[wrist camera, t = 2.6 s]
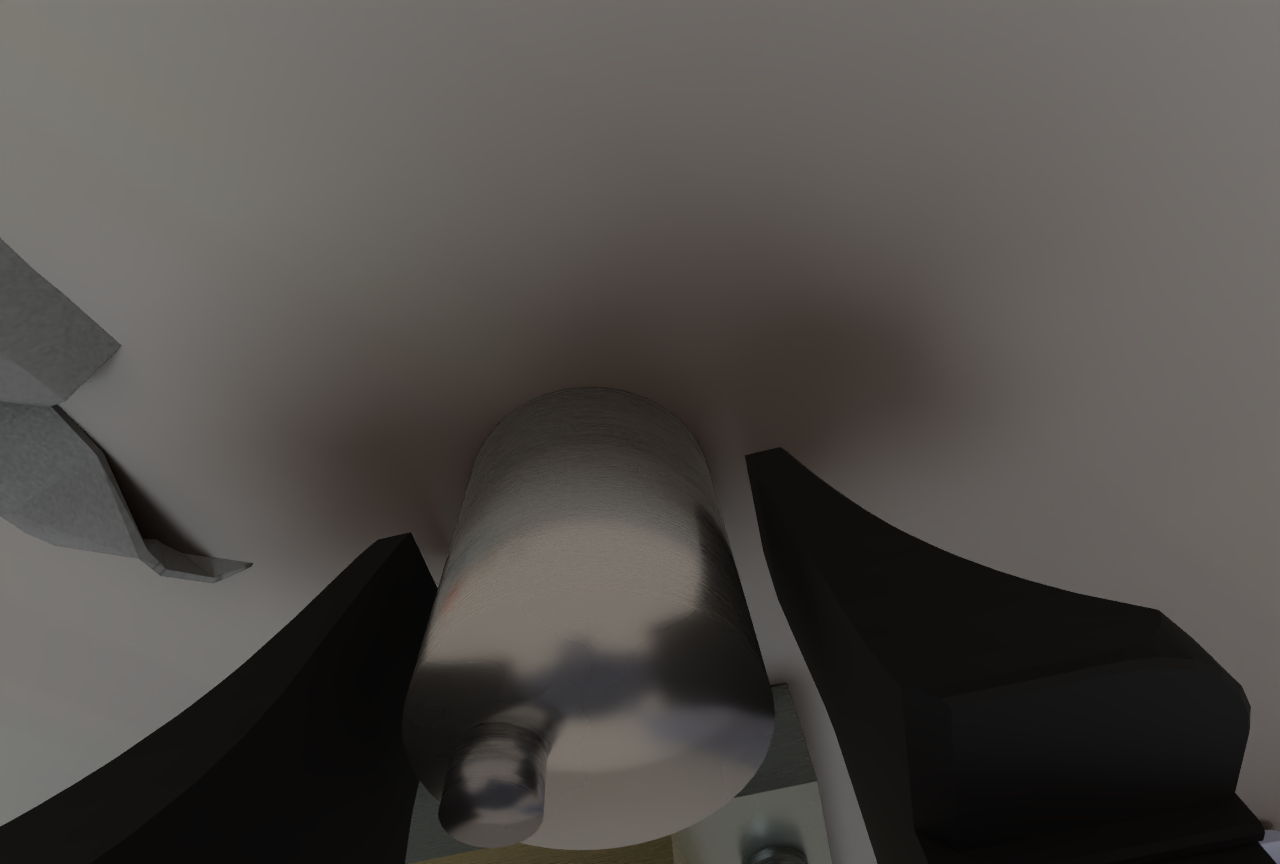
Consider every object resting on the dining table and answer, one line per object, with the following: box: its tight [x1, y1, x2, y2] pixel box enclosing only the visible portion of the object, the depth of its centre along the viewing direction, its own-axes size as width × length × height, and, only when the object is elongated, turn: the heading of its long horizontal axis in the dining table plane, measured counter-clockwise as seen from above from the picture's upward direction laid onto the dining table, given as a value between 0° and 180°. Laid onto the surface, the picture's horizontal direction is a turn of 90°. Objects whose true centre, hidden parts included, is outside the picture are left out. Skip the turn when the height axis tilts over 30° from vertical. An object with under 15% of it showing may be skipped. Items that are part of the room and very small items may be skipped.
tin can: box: [402, 387, 775, 850], centre depth 11 cm, size 5×5×6 cm
